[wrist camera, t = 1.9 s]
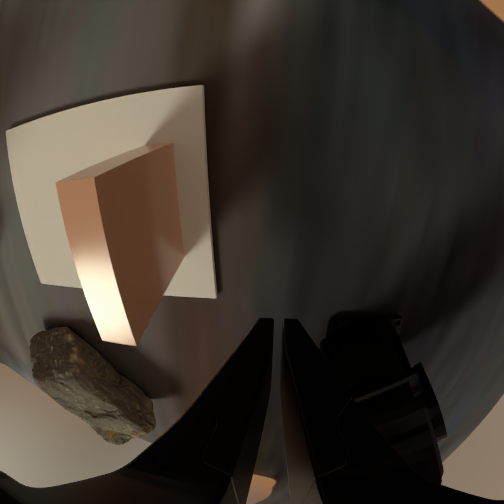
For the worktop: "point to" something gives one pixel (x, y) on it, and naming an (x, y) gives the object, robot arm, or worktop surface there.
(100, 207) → the terracotta tile
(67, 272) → the beige mat
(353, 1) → the worktop surface
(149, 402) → the rock
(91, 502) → the robot arm
